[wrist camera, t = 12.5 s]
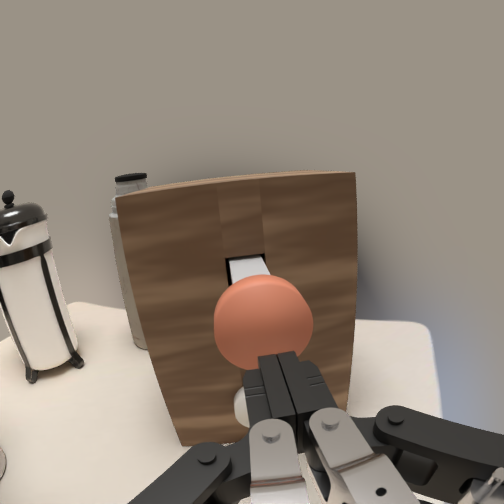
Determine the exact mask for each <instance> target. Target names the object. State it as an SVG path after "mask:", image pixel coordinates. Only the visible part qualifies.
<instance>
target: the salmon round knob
mask: <svg viewBox="0 0 504 504" xmlns="http://www.w3.org/2000/svg"><path fill="white" fill-rule="evenodd" d="M228 261H229V269H230V276H231V282H232V285H231V286H230V287H229V288H227V289H226V291H225V292H224V293H223V294H222V295H221V297H220V298H219V300H218V302H217V305H216V307H215V312H214V337H215V341H216V345H217V347H218V349H219V351H220V352H221V354H222V355H223V356H224V357H225V358H226V359H227V360H228V361H229V362H231V363H232V364H234V365H235V366H237V367H240V368H242V369H246V370H252V369H259V368H258V356H264V355H271V354H277V353H283V352H289V351H295V353H296V355H297V357H298V356H299V355H300V354H301V353H302V352H303V351H304V349H305V348H306V346H307V345H308V343H309V341H310V338H311V336H312V331H313V317H312V313H311V310H310V308H309V306H308V305H307V303H306V301H305V300H304V298H303V297H302V295H301V294H300V292H299V291H298V290H297V289H296V287H294V286H293V285H292V284H291V283H290V282H288V281H287V280H285V279H283V278H280V277H277V276H273V275H270V273H269V271H268V269H267V267H266V265H265V263H264V261H263V259H262V258H261V256H260V254H254V255H246V256H238V257H230V258H228Z"/></svg>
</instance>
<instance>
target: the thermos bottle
mask: <svg viewBox="0 0 504 504" xmlns="http://www.w3.org/2000/svg"><path fill="white" fill-rule="evenodd" d="M145 178H147V175H146V173H133V174H126V175H122V176H118V177H115V182H116V196H115V197H114V198H113V199H112V206H111V207H112V209H113V212H112V213H111V214H110V215H109V221H110V227H111V233H112V239H113V246H114V253H115V258H116V264H117V270H118V275H119V279H120V284H121V289H122V294H123V299H124V303H125V308H126V312H127V316H128V320H129V324H130V328H131V332H132V336H133V340H134V343H135V344H136V345H137V346H138V347H140V348H143V349H148V348H147V345H146V341H145V338H144V334H143V331H142V327H141V323H140V320H139V316H138V312H137V308H136V304H135V300H134V296H133V292H132V287H131V283H130V278H129V274H128V269H127V264H126V260H125V255H124V249H123V244H122V239H121V233H120V227H119V221H118V215H117V208H116V202H115V198H116V197H119V196H122V195H126V194H129V193H132V192H136V191H139V190H142V189H146V188H147V183H146V180H145Z"/></svg>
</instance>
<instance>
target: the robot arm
mask: <svg viewBox="0 0 504 504" xmlns="http://www.w3.org/2000/svg"><path fill="white" fill-rule="evenodd" d="M258 368H259V369H252V370H246V372H245V375H244V377H243V386H244V393H245V400H246V406H247V413H248V419H249V431H248V433H247V434H246V436H245V437H244V438H243V439H241V440H240V441H238V442H236V443H234V444H231V445H228V446H226V447H224V446H223V445H221V444H219V443H215V442H203V443H199V444H196V445H194V446H193V447H191V448H190V449H189V450H188V451H187V452H186V453H185V454H184V455H183V456H182V457H180V458H179V459H178V460H177V461H176V462H175V463H174V464H173V465H172V466H171V467H170V468H168V469H167V470H166V471H165V472H164V473H163V474H162V475H161V476H159V477H158V478H157V479H156V480H155V481H154V482H153V483H151V484H150V485H149V486H148V487H147V488H146V489H144V490H143V491H142V492H141V493H140V494H139V495H137V496H136V497H135V498H134V499H132V500H131V501H130V502H129V503H128V504H238V503H239V501H240V500H241V499H244V498H246V497H249V496H251V504H310V502H309V497H308V492H307V487H306V483H305V479H304V478H303V477H302V474H301V469H300V464H299V459H298V454H299V453H304V452H305V455H306V458H307V470H308V472H309V475H310V477H311V479H312V481H313V484H314V486H315V488H316V491H317V493H318V495H319V497H320V500H321V502H322V504H432V503H430V502H427V501H423V500H419V499H417V498H416V497H415V495H414V494H413V492H415V493H418V494H421V495H424V496H427V497H430V498H434V499H437V500H440V501H444V502H447V503H451V504H504V435H502V434H497V433H494V432H489V431H485V430H481V429H477V428H473V427H469V426H465V425H462V424H458V423H454V422H451V421H448V420H444V419H441V418H438V417H434V416H431V415H428V414H424V413H421V412H418V411H415V410H412V409H409V408H406V407H403V406H397V405H393V406H388V407H385V408H383V409H381V410H380V411H379V412H378V414H377V415H376V417H370V418H356V417H351V416H349V415H348V413H346V412H345V411H343V410H341V409H339V408H338V406H337V404H336V402H335V400H334V398H333V396H332V394H331V392H330V390H329V388H328V386H327V384H326V383H325V380H324V378H323V376H322V374H321V372H320V370H319V368H318V367H317V366H316V365H315V364H313V363H312V362H311V361H309V360H307V361H301V362H299V360H298V357H297V355H296V353H295V351H289V352H283V353H277V354H271V355H264V356H258ZM5 465H6V458H5V454H4V452H3V450H2V449H1V448H0V478H1V477H2V475H3V473H4V470H5Z"/></svg>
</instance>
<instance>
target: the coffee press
mask: <svg viewBox="0 0 504 504" xmlns="http://www.w3.org/2000/svg"><path fill="white" fill-rule="evenodd" d="M2 200H3V202H4V203H5V204H7V205H5V206H4V209H0V308H1V311H2V314H3V317H4V320H5V322H6V325H7V328H8V330H9V333H10V335H11V338H12V340H13V342H14V345H15V347H16V349H17V352H18V354H19V356H20V358H21V360H22V362H23V363H24V364H25V367H26V380H27V381H29V382H32V383H35V382H36V380H37V373H38V371H39V370H47V369H51V368H54V367H57V366H59V365H61V364H63V363H65V362H66V361H68V362H70V363H71V364H72V365H74V366H75V367H76V368H78V369H79V368H80V367H81V366H82V365H83V364H84V361H83V359H82V358H81V357H80V356H79V355H78V354H77V352H76V350H77V347H78V340H77V336H76V333H75V330H74V328H73V325H72V322H71V319H70V315H69V312H68V309H67V306H66V303H65V299H64V296H63V293H62V289H61V285H60V282H59V278H58V274H57V270H56V266H55V262H54V258H53V254H52V243H51V238H50V237H49V235H48V230H47V223H46V222H47V218H48V217H47V214H45V213H44V211H43V209H42V207H41V206H40V205H38V204H36V203H23V204H19V205H14V204H13V203H12V202H13V200H14V194H13V192H12V191H10V190H7V191H5V192H4V193H3V195H2ZM31 369H33V371H32V378H31Z"/></svg>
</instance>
